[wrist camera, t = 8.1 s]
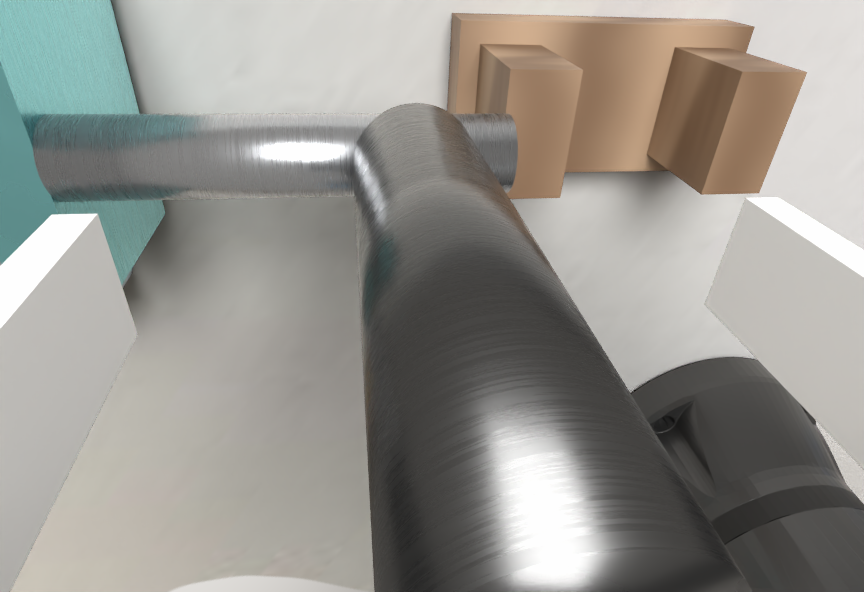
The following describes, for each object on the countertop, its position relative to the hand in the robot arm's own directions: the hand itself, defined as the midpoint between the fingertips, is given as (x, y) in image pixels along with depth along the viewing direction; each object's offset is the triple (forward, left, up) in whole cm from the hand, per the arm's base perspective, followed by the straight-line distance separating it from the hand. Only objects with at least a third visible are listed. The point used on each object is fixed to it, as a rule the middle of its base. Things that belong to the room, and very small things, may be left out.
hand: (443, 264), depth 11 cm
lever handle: (+4, 0, -14) cm, 14 cm away
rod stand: (-9, 0, -15) cm, 17 cm away
